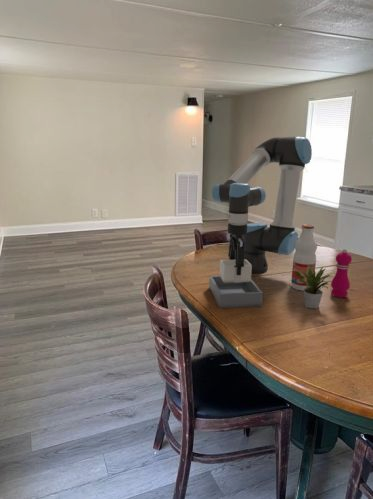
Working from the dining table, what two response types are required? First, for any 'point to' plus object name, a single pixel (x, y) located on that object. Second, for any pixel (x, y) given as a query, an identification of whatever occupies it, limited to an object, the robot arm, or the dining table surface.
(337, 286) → the pepper mill
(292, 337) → the dining table surface
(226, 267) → the white crate
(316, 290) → the house plant
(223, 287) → the slate crate
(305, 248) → the fruit juice
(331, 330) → the dining table surface
